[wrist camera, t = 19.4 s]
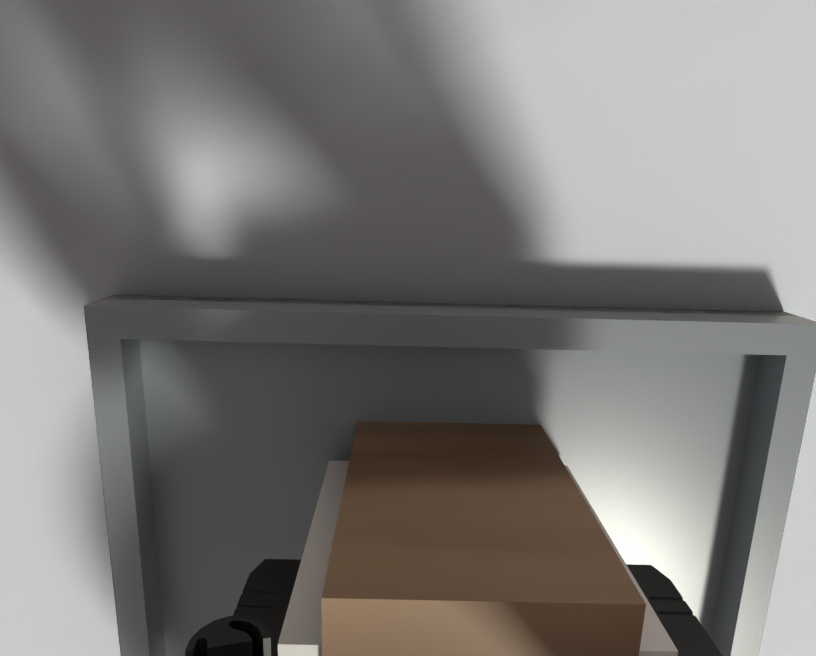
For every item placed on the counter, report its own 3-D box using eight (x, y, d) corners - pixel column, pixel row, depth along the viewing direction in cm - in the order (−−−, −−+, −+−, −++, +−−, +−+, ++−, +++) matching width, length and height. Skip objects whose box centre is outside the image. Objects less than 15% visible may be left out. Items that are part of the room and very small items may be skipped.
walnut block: (357, 420, 16) (321, 597, 9) (540, 424, 16) (646, 604, 9) (356, 580, 17) (323, 847, 10) (526, 583, 17) (610, 851, 10)
